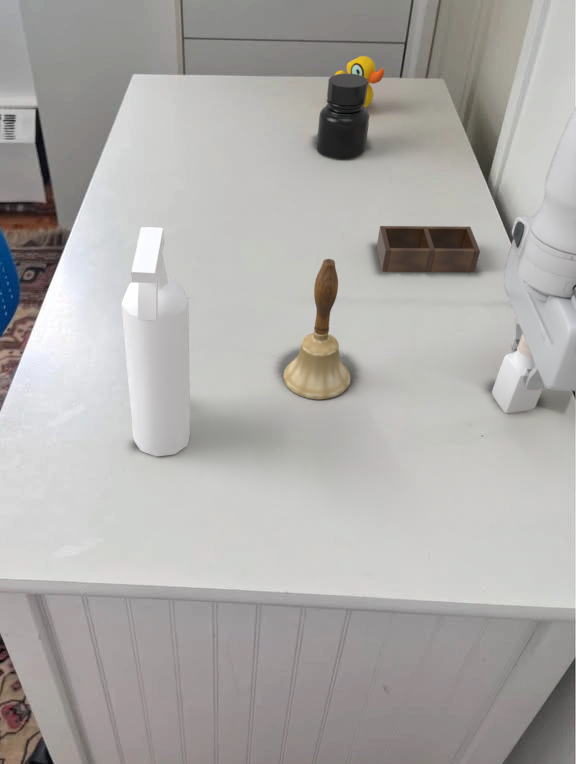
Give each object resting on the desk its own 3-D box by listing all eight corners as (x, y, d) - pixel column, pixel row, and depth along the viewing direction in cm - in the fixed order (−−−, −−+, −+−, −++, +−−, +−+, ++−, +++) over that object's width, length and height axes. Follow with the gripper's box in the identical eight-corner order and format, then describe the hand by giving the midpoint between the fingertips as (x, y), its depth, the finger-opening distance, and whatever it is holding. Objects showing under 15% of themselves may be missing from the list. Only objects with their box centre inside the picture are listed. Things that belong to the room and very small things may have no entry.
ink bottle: (374, 146, 134) (384, 77, 125) (355, 165, 129) (364, 93, 120) (326, 136, 137) (333, 67, 129) (306, 153, 132) (311, 83, 124)
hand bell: (269, 374, 90) (275, 259, 78) (319, 349, 93) (332, 235, 81) (313, 409, 85) (327, 293, 73) (364, 382, 88) (385, 266, 77)
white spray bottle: (199, 398, 87) (191, 199, 68) (188, 470, 79) (176, 268, 60) (144, 395, 87) (122, 197, 69) (127, 467, 79) (97, 265, 61)
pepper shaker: (535, 411, 84) (563, 345, 77) (504, 416, 84) (529, 350, 77) (519, 389, 87) (544, 324, 80) (488, 394, 87) (511, 329, 80)
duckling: (384, 114, 144) (393, 59, 137) (369, 122, 142) (376, 66, 134) (339, 99, 150) (345, 46, 142) (323, 107, 147) (328, 52, 140)
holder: (462, 254, 108) (470, 226, 105) (472, 280, 103) (480, 251, 100) (375, 254, 109) (380, 225, 105) (380, 279, 104) (385, 250, 100)
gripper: (636, 321, 64) (580, 432, 75) (569, 210, 78) (530, 317, 88) (565, 320, 65) (519, 431, 75) (511, 210, 78) (478, 316, 89)
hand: (525, 368), depth 82 cm, fingers closed on pepper shaker, 4 cm apart
